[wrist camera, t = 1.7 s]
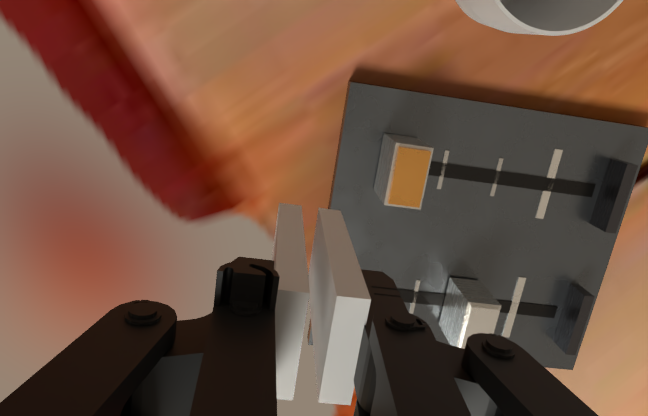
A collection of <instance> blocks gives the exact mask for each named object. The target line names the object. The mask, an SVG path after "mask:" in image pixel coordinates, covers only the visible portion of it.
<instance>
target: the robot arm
mask: <svg viewBox="0 0 648 416" xmlns="http://www.w3.org/2000/svg"><path fill="white" fill-rule="evenodd" d="M308 301H309V304H310V314H311V327H312V338H313V349H314V359H315V371H316V382H317V394H318V402H320V403H331V404H343V405H351V400H352V395H353V390H354V385H355V390H356V395H357V402H356V407H355V412H354V416H598V415H597V414H596V413H595V412H594V411H593V410H591V409H590V408H589V407H588V406H587V405H586V404H585V403H584V402H582V401H581V400H580V399H579V398H578V397H577V396H576V395H575V394H573V393H572V392H571V391H570V390H569V389H568V388H567V387H566V386H565V385H563V384H562V383H561V382H560V381H559V380H558V379H557V378H556V377H554V376H553V375H552V374H551V373H550V372H549V371H548V370H547V369H545V368H544V367H543V366H542V365H541V364H540V363H539V362H538V361H536V360H535V359H534V358H533V357H532V356H531V355H530V354H529V353H528V352H526V351H525V350H524V349H523V348H522V347H520V346H519V345H517V344H516V343H514V342H512V341H510V340H508V339H506V338H505V337H503V336H500V335H498V336H497V334H492V333H489V334H486V333H477V334H472V335H471V336H469V337H468V338H467V342H466V346H465V349H463V348H459V347H456V346H452V345H448V344H445V343H442V342H439V341H436V339H435V336H434V334H433V332H432V330H431V328H430V326H429V325H428V324H427V323H426V322H425V321H424V320H423V319H421V318H419V317H418V316H416V315H413V314H411V313H409V312H408V310H407V308H406V306H405V304H404V302H403V299H402V298H401V295H400V293H399V291H398V290H397V287H396V285H395V282H394V280H393V279H391V278H390V277H389V276H388V275H386V274H385V273H384V272H381V271H372V270H363V269H361V268H360V266H359V263H358V260H357V257H356V254H355V251H354V248H353V245H352V242H351V239H350V236H349V234H348V231H347V228H346V225H345V222H344V219H343V216H342V213H341V211H339V210H331V209H323V208H319V210H318V216H317V222H316V229H315V235H314V242H313V248H312V255H311V261H310V268H309V274H308V269H307V259H306V248H305V237H304V227H303V216H302V206H300V205H292V204H284V203H279V208H278V216H277V224H276V231H275V239H274V246H273V254H272V260H263V259H254V258H245V257H238V258H237V259H235V260H234V261H232V262H231V263H227V264H225V265H222V266H221V267H220V268H219V269H218V271H217V279H216V289H215V299H214V307H213V312H212V313H211V314H209V315H206V316H204V317H201V318H197V319H192V320H182V321H177V316H176V313H175V310H174V309H172V308H171V307H169V306H168V305H165V304H162V303H159V302H154V301H149V300H141V301H139V300H136V301H132V302H128V303H125V304H121V305H119V306H117V307H115V308H114V309H112V310H110V311H109V312H108V313H107V314H106V315H105V316H103V317H102V318H101V319H100V320H99V321H97V322H96V323H95V324H94V325H93V326H91V327H90V328H89V329H88V330H87V331H85V332H84V333H83V334H82V335H81V336H80V337H78V338H77V339H76V340H75V341H73V342H72V343H71V344H70V345H69V346H68V347H66V348H65V349H64V350H63V351H61V353H59V354H58V355H57V356H56V357H54V358H53V359H52V360H51V361H50V362H48V363H47V364H46V365H45V366H44V367H42V368H41V369H40V370H39V371H38V372H36V373H35V374H34V375H33V376H32V377H30V379H28V380H27V381H26V382H24V383H23V384H22V385H21V386H20V387H19V388H18V389H16V390H15V391H14V392H13V393H11V394H10V395H9V396H8V397H7V398H5V399H4V400H3V401H2V402H1V403H0V416H277V399H283V400H293V396H294V390H295V383H296V377H297V370H298V364H299V357H300V352H301V345H302V339H303V333H304V326H305V320H306V314H307V307H308Z"/></svg>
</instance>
